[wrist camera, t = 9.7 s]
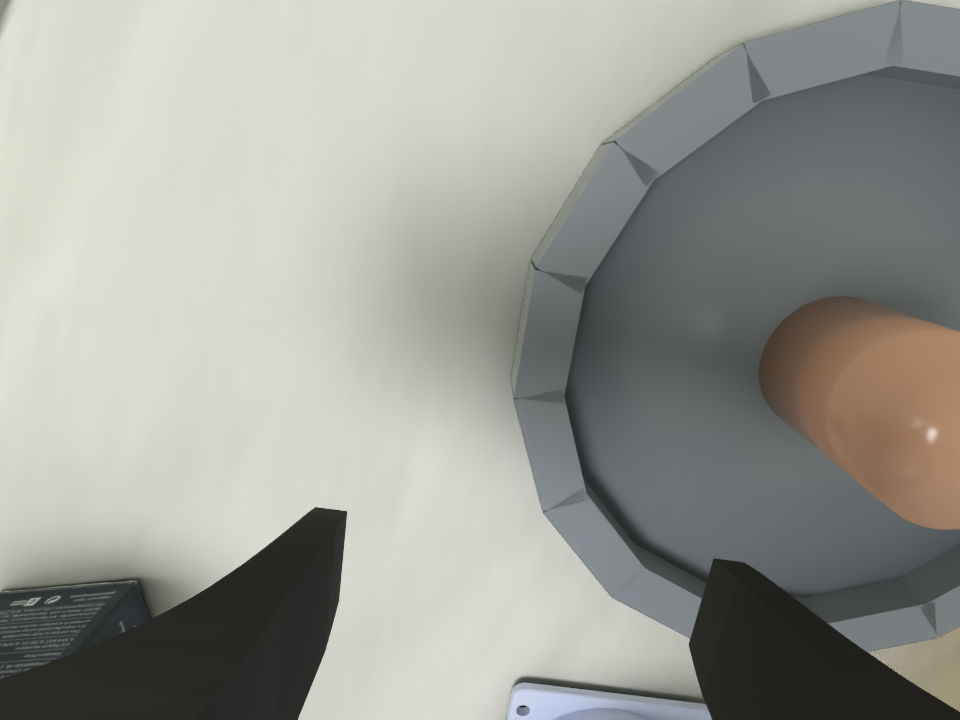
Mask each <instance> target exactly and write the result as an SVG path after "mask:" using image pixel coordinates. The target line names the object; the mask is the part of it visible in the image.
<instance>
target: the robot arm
mask: <svg viewBox="0 0 960 720" xmlns="http://www.w3.org/2000/svg"><path fill="white" fill-rule="evenodd" d="M346 518H347V511H340V510H333V509H325V508H317V507H315V508H314V509H312V510H311V511H310V512H308V513H307V514H306V515H305V516H303V517H302V518H301V519H300V520H299V521H297V522H296V523H295V524H294V525H293V526H291V527H290V528H289V529H288V530H286V531H285V532H284V533H283V534H282V535H280V536H279V537H278V538H277V539H275V540H274V541H273V542H272V543H270V544H269V545H268V546H266V547H265V548H264V549H262V550H261V551H260V552H258V553H257V554H256V555H255V556H253V557H252V558H251V559H249V560H248V561H247V562H245V563H244V564H242V565H241V566H240V567H238V568H237V569H235V570H234V571H232V572H231V573H229V574H228V575H226V576H225V577H223V578H222V579H221V580H219V581H218V582H216V583H215V584H213V585H212V586H210V587H209V588H207V589H205V590H204V591H202V592H200V593H199V594H197V595H195V596H194V597H192V598H190V599H188V600H187V601H185V602H183V603H181V604H179V605H177V606H176V607H174V608H172V609H170V610H168V611H167V612H165V613H163V614H161V615H159V616H157V617H155V618H153V619H151V620H149V621H146V622H144V623H142V624H140V625H138V626H136V627H133V628H131V629H129V630H127V631H125V632H123V633H120V634H118V635H116V636H114V637H112V638H110V639H107V640H105V641H103V642H101V643H98V644H96V645H94V646H91V647H88V648H86V649H83V650H81V651H78V652H76V653H73V654H71V655H68V656H66V657H63V658H60V659H57V660H55V661H52V662H49V663H46V664H43V665H41V666H38V667H35V668H32V669H29V670H26V671H23V672H20V673H17V674H14V675H11V676H8V677H4V678H1V679H0V720H298V717H299V715H300V712H301V710H302V707H303V705H304V703H305V700H306V698H307V695H308V693H309V690H310V688H311V685H312V683H313V680H314V678H315V675H316V673H317V670H318V668H319V665H320V663H321V660H322V658H323V655H324V653H325V650H326V646H327V643H328V639H329V636H330V632H331V629H332V625H333V621H334V617H335V614H336V610H337V606H338V602H339V593H340V583H341V572H342V561H343V550H344V539H345V529H346ZM689 647H690V651H691V655H692V659H693V663H694V667H695V671H696V675H697V678H698V682H699V685H700V689H701V692H702V696H703V698H704V701H705V703H706V704H702V703H693V702H685V701H676V700H668V699H660V698H651V697H643V696H635V695H626V694H618V693H609V692H601V691H593V690H584V689H576V688H568V687H559V686H551V685H542V684H534V683H520V684H517V685H516V686H515V687H514V688H513V690H512V693H511V698H510V703H509V708H508V713H507V718H506V720H960V712H959V711H957V710H955V709H954V708H952V707H950V706H949V705H947V704H946V703H944V702H942V701H941V700H939V699H937V698H936V697H934V696H933V695H931V694H929V693H928V692H926V691H924V690H923V689H921V688H919V687H918V686H916V685H915V684H913V683H912V682H910V681H909V680H907V679H906V678H904V677H902V676H901V675H899V674H898V673H896V672H895V671H894V670H892V669H891V668H889V667H888V666H886V665H885V664H883V663H882V662H881V661H879V660H878V659H876V658H875V657H873V656H872V655H870V654H869V653H868V652H866V651H865V650H863V649H862V648H860V647H859V646H858V645H856V644H855V643H854V642H852V641H851V640H849V639H848V638H847V637H845V636H844V635H843V634H841V633H840V632H838V631H837V630H836V629H834V628H833V627H832V626H830V625H829V624H828V623H826V622H825V621H824V620H822V619H821V618H820V617H818V616H817V615H816V614H815V613H813V612H812V611H811V610H809V609H808V608H807V607H805V606H804V605H803V604H801V603H800V602H799V601H798V600H796V599H795V598H794V597H792V596H791V595H790V594H788V593H787V592H786V591H784V590H783V589H782V588H780V587H779V586H778V585H776V584H775V583H774V582H772V581H771V580H770V579H768V578H767V577H766V576H764V575H763V574H761V573H760V572H759V571H757V570H756V569H754V568H753V567H751V566H749V565H748V564H746V563H744V562H739V561H731V560H723V559H715V558H713V562H712V565H711V569H710V572H709V576H708V579H707V583H706V586H705V590H704V593H703V597H702V600H701V604H700V607H699V611H698V614H697V618H696V621H695V624H694V628H693V631H692V635H691V638H690V642H689ZM520 705H525V706H526V707H523V708H521V707H519V706H520Z"/></svg>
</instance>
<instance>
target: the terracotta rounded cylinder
mask: <svg viewBox="0 0 960 720" xmlns="http://www.w3.org/2000/svg"><path fill="white" fill-rule="evenodd" d="M759 382H760V387H761V391H762V394H763V397H764V399H765V401H766V402H767V404H768V406H769V407H770V408H771V410H772V411H773V412H774V413H775V414H776V415H777V416H778V417H779V418H781V419H782V420H783V421H784V422H785V423H787V424H788V425H789V426H790V427H791V428H793V429H794V430H795V431H796V432H798V433H799V434H800V435H801V436H802V437H804V438H805V439H806V440H807V441H809V442H810V443H811V444H812V445H813V446H815V447H816V448H817V449H818V450H819V451H821V452H822V453H823V454H824V455H826V456H827V457H828V458H829V459H830V460H832V461H833V462H834V463H835V464H836V465H838V466H839V467H840V468H841V469H843V470H844V471H845V472H846V473H847V474H849V475H850V476H851V477H852V478H853V479H855V480H856V481H857V482H858V483H860V484H861V485H862V486H863V487H864V488H866V489H867V490H868V491H869V492H870V493H872V494H873V495H874V496H875V497H877V498H878V499H879V500H880V501H881V502H883V503H884V504H885V505H886V506H887V507H889V508H890V509H891V510H892V511H894V512H895V513H896V514H898V515H899V516H901V517H902V518H904V519H906V520H908V521H910V522H912V523H915V524H918V525H921V526H924V527H929V528H934V529H945V530H950V529H960V332H959V331H956V330H953V329H950V328H947V327H944V326H941V325H938V324H935V323H932V322H929V321H926V320H923V319H920V318H917V317H914V316H911V315H908V314H905V313H902V312H899V311H896V310H893V309H890V308H887V307H884V306H881V305H878V304H875V303H872V302H869V301H866V300H863V299H859V298H854V297H846V296H836V297H828V298H823V299H819V300H816V301H813V302H811V303H809V304H806V305H804V306H802V307H801V308H799V309H797V310H796V311H794V312H793V313H792V314H790V315H789V316H788V317H787V318H785V319H784V320H783V321H782V322H781V323H780V324H779V326H778V327H777V328H776V329H775V330H774V332H773V333H772V335H771V336H770V338H769V339H768V341H767V343H766V345H765V347H764V350H763V353H762V356H761V360H760V366H759Z"/></svg>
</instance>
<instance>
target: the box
mask: <svg viewBox="0 0 960 720" xmlns="http://www.w3.org/2000/svg"><path fill="white" fill-rule="evenodd" d="M149 620H150V618H149V615H148V612H147V609H146V606H145V603H144V600H143V597H142V593H141V590H140V587H139V584H138V582H137V581H134V580H133V581H122V582H103V583H94V584H80V585H73V586H58V587H49V588H38V589H26V590H15V591H3V592H1V593H0V679H1V678H4V677H8V676H11V675H14V674H17V673H20V672H23V671H26V670H29V669H32V668H35V667H38V666H41V665H43V664H46V663H49V662H52V661H55V660H57V659H60V658H63V657H66V656H68V655H71V654H73V653H76V652H78V651H81V650H83V649H86V648H88V647H91V646H94V645H96V644H98V643H101V642H103V641H105V640H107V639H110V638H112V637H114V636H116V635H118V634H120V633H123V632H125V631H127V630H129V629H131V628H133V627H136V626H138V625H140V624H142V623H144V622H146V621H149Z"/></svg>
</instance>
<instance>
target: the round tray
mask: <svg viewBox="0 0 960 720" xmlns="http://www.w3.org/2000/svg"><path fill="white" fill-rule="evenodd" d="M531 259H532V261H530V264H529V270H528V276H527V282H526V288H525V294H524V300H523V306H522V312H521V318H520V324H519V330H518V336H517V343H516V349H515V355H514V361H513V367H512V373H511V384H512V391H513V398H514V403H515V407H516V411H517V415H518V419H519V423H520V426H521V430H522V434H523V438H524V442H525V446H526V450H527V454H528V458H529V462H530V465H531V469H532V473H533V477H534V481H535V485H536V489H537V493H538V497H539V501H540V505H541V508H542V511H543V514H544V515H545V516H546V517H547V519H548V520H549V521H550V522H551V523H552V525H553V526H554V527H555V528H556V530H557V531H558V532H559V533H560V535H561V536H562V537H563V538H564V540H565V541H566V542H567V543H568V544H569V546H570V547H571V548H572V549H573V551H574V552H575V553H576V554H577V556H578V557H579V558H580V559H581V560H582V562H583V563H584V564H585V565H586V567H587V568H588V569H589V570H590V572H591V573H592V574H593V575H594V577H595V578H596V579H597V580H598V581H599V583H600V584H601V585H602V586H603V588H604V589H605V590H606V591H607V593H608V594H609V595H610V596H612V598H614V599H616V600H618V601H619V602H621V603H623V604H625V605H627V606H629V607H631V608H633V609H635V610H637V611H639V612H640V613H642V614H644V615H646V616H648V617H650V618H652V619H654V620H656V621H658V622H660V623H661V624H663V625H665V626H667V627H669V628H671V629H673V630H675V631H677V632H679V633H681V634H682V635H684V636H686V637H688V638H691V635H692V631H693V628H694V624H695V621H696V618H697V614H698V611H699V607H700V604H701V600H702V597H703V593H704V590H705V586H706V583H707V579H708V576H709V572H710V569H711V565H712V562H713V558H715V559H723V560H731V561H739V562H744V563H746V564H748V565H749V566H751V567H753V568H754V569H756V570H757V571H759V572H760V573H761V574H763V575H764V576H766V577H767V578H768V579H770V580H771V581H772V582H774V583H775V584H776V585H778V586H779V587H780V588H782V589H783V590H784V591H786V592H787V593H788V594H790V595H791V596H792V597H794V598H795V599H796V600H798V601H799V602H800V603H801V604H803V605H804V606H805V607H807V608H808V609H809V610H811V611H812V612H813V613H815V614H816V615H817V616H818V617H820V618H821V619H822V620H824V621H825V622H826V623H828V624H829V625H830V626H832V627H833V628H834V629H836V630H837V631H838V632H840V633H841V634H843V635H844V636H845V637H847V638H848V639H849V640H851V641H852V642H854V643H855V644H856V645H858V646H859V647H860V648H862V649H863V650H865V651H866V652H870V651H875V650H880V649H885V648H890V647H896V646H901V645H906V644H911V643H916V642H921V641H926V640H931V639H936V638H937V636H938V637H941V636H943V635H945V634H946V633H948V632H950V631H952V630H954V629H956V628H958V627H960V529H950V530H945V529H934V528H929V527H924V526H921V525H918V524H915V523H912V522H910V521H908V520H906V519H904V518H902V517H901V516H899V515H898V514H896V513H895V512H894V511H892V510H891V509H890V508H889V507H887V506H886V505H885V504H884V503H883V502H881V501H880V500H879V499H878V498H877V497H875V496H874V495H873V494H872V493H870V492H869V491H868V490H867V489H866V488H864V487H863V486H862V485H861V484H860V483H858V482H857V481H856V480H855V479H853V478H852V477H851V476H850V475H849V474H847V473H846V472H845V471H844V470H843V469H841V468H840V467H839V466H838V465H836V464H835V463H834V462H833V461H832V460H830V459H829V458H828V457H827V456H826V455H824V454H823V453H822V452H821V451H819V450H818V449H817V448H816V447H815V446H813V445H812V444H811V443H810V442H809V441H807V440H806V439H805V438H804V437H802V436H801V435H800V434H799V433H798V432H796V431H795V430H794V429H793V428H791V427H790V426H789V425H788V424H787V423H785V422H784V421H783V420H782V419H781V418H779V417H778V416H777V415H776V414H775V413H774V412H773V411H772V410H771V408H770V407H769V406H768V404H767V402H766V401H765V399H764V397H763V394H762V391H761V387H760V382H759V366H760V360H761V356H762V353H763V350H764V347H765V345H766V343H767V341H768V339H769V338H770V336H771V335H772V333H773V332H774V330H775V329H776V328H777V327H778V326H779V324H780V323H781V322H782V321H783V320H784V319H785V318H787V317H788V316H789V315H790V314H792V313H793V312H794V311H796V310H797V309H799V308H801V307H802V306H804V305H806V304H809V303H811V302H813V301H816V300H819V299H823V298H828V297H836V296H846V297H854V298H859V299H863V300H866V301H869V302H872V303H875V304H878V305H881V306H884V307H887V308H890V309H893V310H896V311H899V312H902V313H905V314H908V315H911V316H914V317H917V318H920V319H923V320H926V321H929V322H932V323H935V324H938V325H941V326H944V327H947V328H950V329H953V330H956V331H959V332H960V9H955V8H949V7H943V6H937V5H931V4H925V3H919V2H912V1H906V0H901V1H900V0H898V1H894V2H891V3H887V4H883V5H880V6H876V7H872V8H869V9H865V10H861V11H858V12H854V13H851V14H847V15H843V16H840V17H836V18H832V19H829V20H825V21H821V22H818V23H814V24H810V25H807V26H803V27H800V28H796V29H792V30H789V31H785V32H781V33H778V34H774V35H770V36H767V37H763V38H759V39H756V40H752V41H749V42H745V43H743V44H741V45H739V46H737V47H735V48H733V49H731V50H729V51H727V52H725V53H723V54H721V55H719V56H717V57H715V58H714V59H712V60H711V61H710V62H708V63H707V64H706V65H704V66H703V67H702V68H700V69H699V70H698V71H696V72H695V73H694V74H693V75H691V76H690V77H689V78H687V79H686V80H685V81H683V82H682V83H681V84H679V85H678V86H677V87H675V88H674V89H673V90H671V91H670V92H669V93H668V94H666V95H665V96H664V97H662V98H661V99H660V100H658V101H657V102H656V103H654V104H653V105H652V106H650V107H649V108H648V109H646V110H645V111H644V112H643V113H641V114H640V115H639V116H637V117H636V118H635V119H633V120H632V121H631V122H629V123H628V124H627V125H625V126H624V127H623V128H622V129H620V130H619V131H618V132H616V133H615V134H614V135H612V136H611V137H610V138H608V139H607V140H606V141H604V142H603V143H602V145H600V146H599V148H598V150H597V151H596V153H595V154H594V156H593V158H592V159H591V161H590V163H589V164H588V166H587V167H586V169H585V171H584V172H583V174H582V176H581V177H580V179H579V181H578V182H577V184H576V185H575V187H574V189H573V190H572V192H571V194H570V195H569V197H568V198H567V200H566V202H565V203H564V205H563V207H562V208H561V210H560V212H559V213H558V215H557V216H556V218H555V220H554V221H553V223H552V225H551V226H550V228H549V230H548V231H547V233H546V234H545V236H544V238H543V239H542V241H541V243H540V244H539V246H538V247H537V249H536V251H535V252H534V254H533V256H532V257H531Z"/></svg>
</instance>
